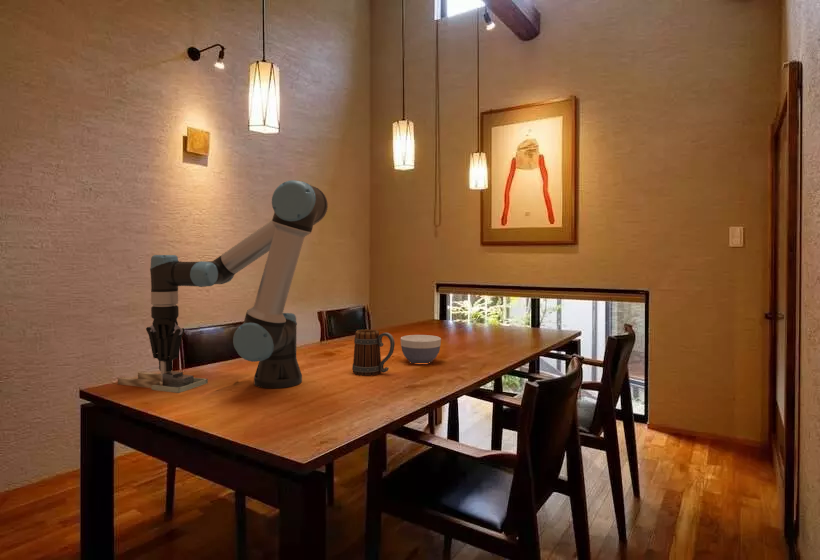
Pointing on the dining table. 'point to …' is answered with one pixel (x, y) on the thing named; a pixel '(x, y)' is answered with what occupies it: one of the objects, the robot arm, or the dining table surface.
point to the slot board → (142, 380)
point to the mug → (370, 352)
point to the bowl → (420, 348)
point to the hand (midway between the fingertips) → (166, 381)
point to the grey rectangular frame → (177, 390)
